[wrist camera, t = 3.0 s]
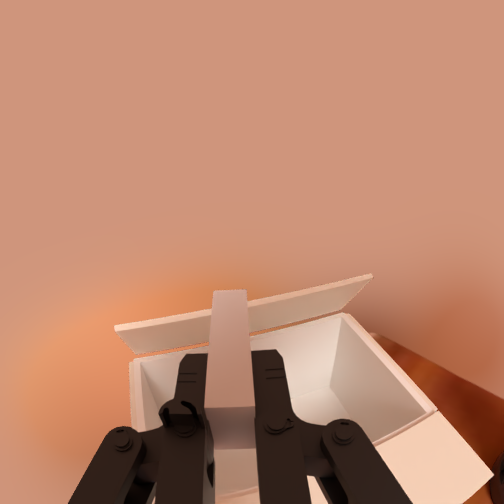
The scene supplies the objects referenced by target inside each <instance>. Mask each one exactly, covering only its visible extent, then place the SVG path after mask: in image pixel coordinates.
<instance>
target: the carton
mask: <svg viewBox="0 0 504 504" xmlns="http://www.w3.org/2000/svg"><path fill="white" fill-rule="evenodd" d="M250 346H251V351H255V350H270V349H276V350H277V351H278V352H279V353H280V355H281V356H282V357H283V361H284V366H285V371H286V378H287V382H288V388H289V393H290V399H291V404H292V409H293V411H294V413H295V414H296V416H297V417H299V418H300V419H301V420H303V421H305V422H308V423H312V424H318V425H327V424H328V423H330V422H331V421H333V420H337V419H350V420H352V421H354V422H356V423H357V424H358V425H359V426H360V427H362V429H363V430H364V432H365V433H366V435H367V436H368V438H369V439H370V441H371V442H372V444H373V445H374V447H375V448H376V450H377V451H378V453H379V454H380V456H381V457H382V459H383V460H384V462H385V463H386V465H387V466H388V468H389V469H390V471H391V472H392V473H393V475H394V476H395V478H396V479H397V481H398V482H399V484H400V485H401V487H402V488H403V490H404V491H405V493H406V494H407V496H408V497H409V499H410V500H411V501H412V503H413V504H462V503H463V502H465V501H466V500H467V499H468V498H469V497H471V496H472V495H473V494H474V493H475V492H476V491H477V490H479V489H480V488H481V487H482V486H483V485H484V484H485V483H486V482H487V481H488V480H489V479H490V478H492V477H493V476H494V474H493V473H492V472H491V470H490V469H489V468H488V467H487V466H486V464H485V463H484V462H483V461H482V460H481V459H480V457H479V456H478V455H477V454H476V453H475V452H474V451H473V449H472V448H471V447H470V446H469V445H468V444H467V442H466V441H465V440H464V439H463V438H462V437H461V436H460V434H459V433H458V432H457V431H456V430H455V429H454V428H453V426H452V425H451V424H450V423H449V422H448V421H447V420H446V419H445V417H444V416H443V415H442V414H441V413H440V412H439V411H438V412H436V411H437V407H436V406H435V405H434V404H433V403H432V402H431V401H430V400H429V399H428V397H427V396H426V395H425V394H424V393H423V392H422V391H421V390H420V389H419V388H418V386H417V385H416V384H415V383H414V382H413V381H412V380H411V379H410V378H409V377H408V376H407V374H406V373H405V372H404V371H403V370H402V369H401V368H400V367H399V366H398V365H397V364H396V363H395V361H394V360H393V359H392V358H391V357H390V356H389V355H388V354H387V353H386V352H385V351H384V350H383V349H382V347H381V346H380V345H379V344H378V343H377V342H376V341H375V340H374V339H373V338H372V337H371V336H370V335H369V334H368V333H367V332H366V330H364V328H363V327H362V326H361V325H360V324H359V323H358V322H357V321H356V320H355V319H354V318H353V317H352V316H351V315H350V314H349V313H348V314H345V313H344V312H343V313H339V314H336V315H332V316H329V317H325V318H321V319H318V320H314V321H310V322H307V323H303V324H299V325H295V326H291V327H287V328H284V329H279V330H275V331H271V332H267V333H263V334H258V335H254V336H250ZM208 348H209V345H208V346H203V347H198V348H193V349H188V350H182V351H177V352H172V353H166V354H160V355H154V356H148V357H142V358H135V359H134V362H129V386H130V408H131V423H132V428H133V429H135V430H137V432H138V433H139V432H143V431H148V430H153V429H156V428H159V427H160V426H162V425H163V423H162V421H161V419H160V416H159V414H158V412H159V410H160V408H161V406H162V405H163V404H164V403H166V402H167V401H169V400H171V399H173V398H174V394H175V388H176V383H177V375H178V369H179V363H180V361H181V360H182V359H183V357H184V356H185V355H186V354H196V353H208ZM214 460H215V504H260V499H259V486H258V472H257V457H256V448H253V449H227V450H215V448H214ZM307 479H308V484H309V490H310V496H311V502H312V504H328V502H327V500H326V499H325V497H324V495H323V493H322V491H321V489H320V487H319V485H318V483H317V481H316V479H315V477H314V476H307ZM154 503H155V497H154V500H153V502H152V504H154Z"/></svg>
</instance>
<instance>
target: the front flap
mask: <svg viewBox="0 0 504 504" xmlns="http://www.w3.org/2000/svg"><path fill="white" fill-rule="evenodd" d="M372 279H373V276H372V273H370V274H365V275H361V276H357V277H354V278H350V279H345V280H341V281H337V282H333V283H328V284H324V285H320V286H316V287H312V288H307V289H302V290H298V291H294V292H289V293H285V294H280V295H275V296H271V297H266V298H261V299H256V300H252V301H247V305H248V318H249V332H250V333H252V332H256V331H261V330H265V329H269V328H273V327H277V326H282V325H286V324H289V323H294V322H297V321H301V320H305V319H309V318H313V317H316V316H320V315H324V314H327V313H331V312H335V311H338V310H341V309H342V308H343V307H344V306H345V305H346V304H347V303H348V302H349V301H350V300H351V299H352V298H353V297H354V296H355V295H356V294H358V292H359V291H361V289H363V288H364V287H365V286H366V285H367V284H368V283H369V282H370V281H371V280H372ZM211 313H212V309H206V310H201V311H196V312H190V313H185V314H180V315H174V316H168V317H163V318H157V319H151V320H145V321H140V322H133V323H128V324H121V325H115V326H114V327H115V332H116V333H117V334H118V335H119V336H120V338H121V339H122V340H123V341H124V342H125V343H126V344H127V345H128V347H129V348H130V349H131V350H132V351H133V352H134V353H135V354H136V355H138V354H145V353H151V352H156V351H162V350H168V349H174V348H179V347H185V346H190V345H195V344H200V343H205V342H209V336H210V324H211Z"/></svg>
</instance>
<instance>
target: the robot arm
mask: <svg viewBox="0 0 504 504" xmlns="http://www.w3.org/2000/svg"><path fill="white" fill-rule="evenodd" d="M158 414H159V416H160V419H161V421H162V423H163V425H162V426H160V427H159V428H156V429H153V430H148V431H143V432H139V433H138V432H137V430H135V429H133V428H131V427H126V426H122V427H116V428H114V429H113V430H111V431H110V432H109V433H108V434H107V435H106V436H105V438H104V440H103V441H102V443H101V445H100V447H99V449H98V450H97V452H96V454H95V455H94V457H93V459H92V461H91V463H90V464H89V466H88V468H87V470H86V472H85V474H84V475H83V477H82V479H81V481H80V482H79V484H78V486H77V488H76V490H75V491H74V493H73V495H72V497H71V499H70V501H69V502H68V504H152V502H153V500H154V497H155V503H154V504H215V460H214V448H215V450H227V449H253V448H256V457H257V472H258V486H259V499H260V504H312V502H311V496H310V490H309V484H308V479H307V476H314V477H315V479H316V481H317V483H318V485H319V487H320V489H321V491H322V493H323V495H324V497H325V499H326V500H327V502H328V504H413V503H412V501H411V500H410V499H409V497H408V496H407V494H406V493H405V491H404V490H403V488H402V487H401V485H400V484H399V482H398V481H397V479H396V478H395V476H394V475H393V473H392V472H391V471H390V469H389V468H388V466H387V465H386V463H385V462H384V460H383V459H382V457H381V456H380V454H379V453H378V451H377V450H376V448H375V447H374V445H373V444H372V442H371V441H370V439H369V438H368V436H367V435H366V433H365V432H364V430H363V429H362V427H360V426H359V425H358V424H357V423H356V422H354V421H352V420H350V419H337V420H333V421H331V422H330V423H328V424H327V425H318V424H312V423H308V422H305V421H303V420H301V419H300V418H299V417H297V416H296V414H295V413H294V411H293V409H292V404H291V399H290V393H289V388H288V382H287V378H286V371H285V366H284V361H283V357H282V356H281V355H280V353H279V352H278V351H277V350H276V349H270V350H255V351H251V346H250V332H249V318H248V305H247V290H246V289H245V290H225V291H224V290H223V291H214V292H213V303H212V313H211V324H210V336H209V348H208V353H196V354H186V355H185V356H184V357H183V359H182V360H181V361H180V363H179V369H178V375H177V383H176V388H175V394H174V398H173V399H171V400H169V401H167V402H166V403H164V404H163V405H162V406H161V408H160V410H159V412H158ZM492 473H493V474H494V476H493V477H492V478H490V492H491V497H492V500H493V502H494V504H504V451H503V452H502V453H501V454H500V456H499V457H498V458H497V460H496V462H495V464H494V466H493V469H492Z"/></svg>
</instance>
